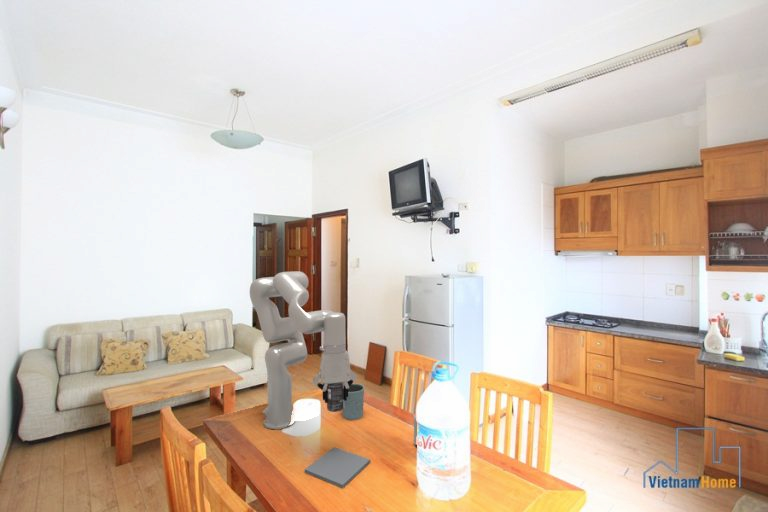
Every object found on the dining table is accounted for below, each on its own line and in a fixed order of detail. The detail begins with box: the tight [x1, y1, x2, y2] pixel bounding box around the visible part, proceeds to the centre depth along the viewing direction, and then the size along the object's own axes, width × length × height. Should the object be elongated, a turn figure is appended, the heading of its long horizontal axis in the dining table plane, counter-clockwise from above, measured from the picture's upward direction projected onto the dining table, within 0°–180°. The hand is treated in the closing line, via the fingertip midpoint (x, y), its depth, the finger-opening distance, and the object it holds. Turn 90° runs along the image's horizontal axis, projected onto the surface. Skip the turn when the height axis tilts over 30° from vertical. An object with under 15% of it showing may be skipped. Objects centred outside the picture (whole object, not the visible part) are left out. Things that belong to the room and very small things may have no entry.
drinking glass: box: [341, 382, 365, 421], centre depth 152 cm, size 10×10×12 cm
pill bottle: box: [326, 383, 344, 413], centre depth 124 cm, size 6×6×11 cm
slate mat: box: [304, 446, 371, 489], centre depth 115 cm, size 15×15×1 cm
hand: (335, 399), depth 124 cm, fingers closed on pill bottle, 6 cm apart
